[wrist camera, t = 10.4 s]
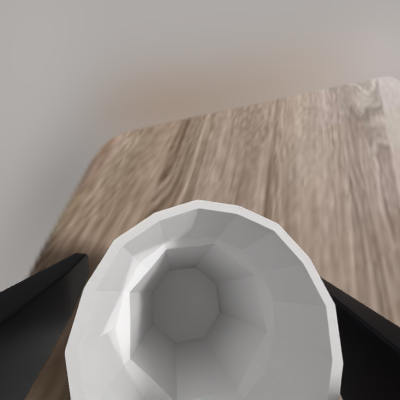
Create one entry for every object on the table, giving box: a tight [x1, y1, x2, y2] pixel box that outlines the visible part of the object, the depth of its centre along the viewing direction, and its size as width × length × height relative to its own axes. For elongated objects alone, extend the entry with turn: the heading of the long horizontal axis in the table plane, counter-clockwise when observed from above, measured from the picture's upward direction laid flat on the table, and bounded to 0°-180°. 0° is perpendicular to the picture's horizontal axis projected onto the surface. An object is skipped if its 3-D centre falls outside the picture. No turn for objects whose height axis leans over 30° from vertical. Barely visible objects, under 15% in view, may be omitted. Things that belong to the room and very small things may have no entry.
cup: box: [65, 200, 343, 400], centre depth 10 cm, size 7×7×11 cm
